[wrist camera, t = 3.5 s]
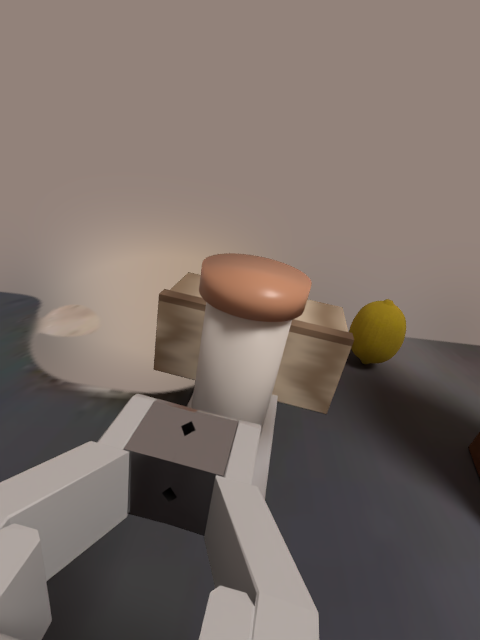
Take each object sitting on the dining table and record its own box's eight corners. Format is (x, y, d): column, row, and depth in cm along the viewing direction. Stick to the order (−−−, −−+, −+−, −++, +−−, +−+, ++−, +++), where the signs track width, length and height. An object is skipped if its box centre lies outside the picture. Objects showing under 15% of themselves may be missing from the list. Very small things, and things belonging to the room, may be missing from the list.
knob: (167, 459, 22) (187, 275, 16) (194, 400, 27) (217, 247, 22) (259, 485, 21) (312, 304, 16) (268, 420, 27) (311, 267, 21)
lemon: (383, 385, 36) (413, 317, 32) (333, 362, 38) (356, 297, 35) (393, 364, 40) (421, 302, 37) (348, 345, 42) (370, 285, 39)
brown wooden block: (85, 462, 22) (81, 363, 18) (182, 330, 39) (189, 266, 35) (335, 533, 20) (380, 441, 17) (322, 365, 37) (344, 302, 34)
